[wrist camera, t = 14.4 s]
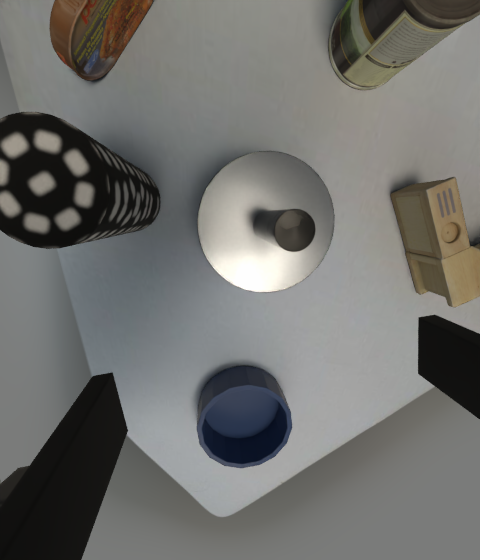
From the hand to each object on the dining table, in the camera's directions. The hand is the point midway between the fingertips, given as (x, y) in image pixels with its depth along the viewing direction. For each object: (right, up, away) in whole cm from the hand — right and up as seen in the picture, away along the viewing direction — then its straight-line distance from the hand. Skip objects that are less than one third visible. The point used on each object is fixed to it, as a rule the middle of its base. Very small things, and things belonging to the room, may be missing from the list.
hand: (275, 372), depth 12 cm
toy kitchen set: (+31, +12, +31) cm, 46 cm away
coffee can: (+15, +34, +25) cm, 44 cm away
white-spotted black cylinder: (-16, +14, +26) cm, 34 cm away
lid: (+1, +10, +18) cm, 21 cm away
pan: (-1, -16, +34) cm, 38 cm away
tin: (-16, +33, +22) cm, 43 cm away
